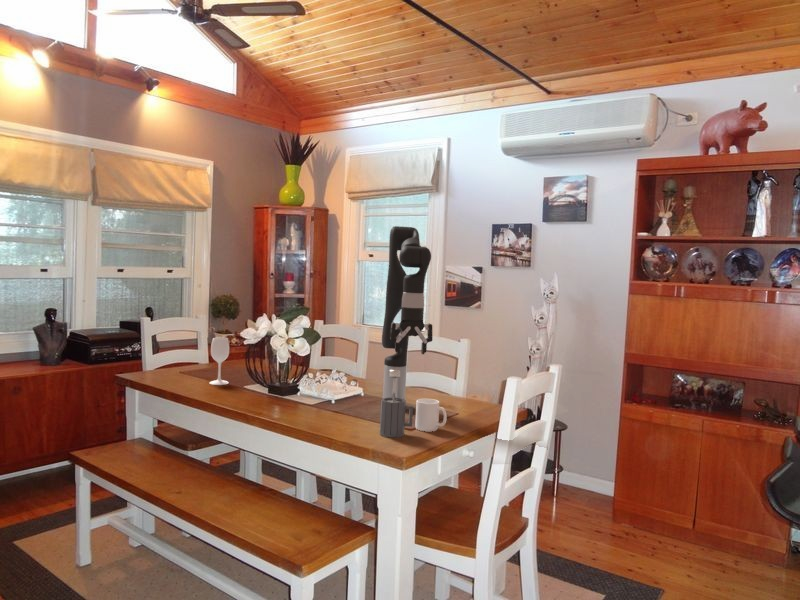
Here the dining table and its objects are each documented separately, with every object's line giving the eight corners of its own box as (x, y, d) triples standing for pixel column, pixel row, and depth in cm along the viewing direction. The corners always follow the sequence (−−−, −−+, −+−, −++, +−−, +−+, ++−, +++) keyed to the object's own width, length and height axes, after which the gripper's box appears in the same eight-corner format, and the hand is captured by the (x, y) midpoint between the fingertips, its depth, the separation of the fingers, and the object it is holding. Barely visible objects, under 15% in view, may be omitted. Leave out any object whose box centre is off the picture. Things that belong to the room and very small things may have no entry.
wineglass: (208, 385, 266) (209, 339, 265) (209, 381, 274) (211, 336, 273) (228, 385, 268) (229, 339, 267) (229, 381, 276) (230, 337, 275)
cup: (422, 424, 218) (423, 397, 217) (451, 430, 211) (452, 402, 211) (410, 428, 211) (412, 401, 210) (440, 435, 204) (441, 406, 204)
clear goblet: (384, 402, 204) (386, 368, 204) (400, 402, 205) (401, 368, 204) (386, 405, 199) (388, 371, 198) (402, 406, 200) (403, 371, 199)
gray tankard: (378, 430, 206) (380, 397, 206) (409, 430, 208) (411, 397, 207) (381, 437, 198) (382, 402, 197) (413, 437, 200) (415, 403, 199)
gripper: (431, 305, 202) (428, 352, 203) (390, 304, 200) (388, 351, 201) (435, 307, 195) (433, 356, 196) (393, 306, 192) (391, 355, 194)
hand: (410, 353), depth 198 cm, fingers open, 8 cm apart
